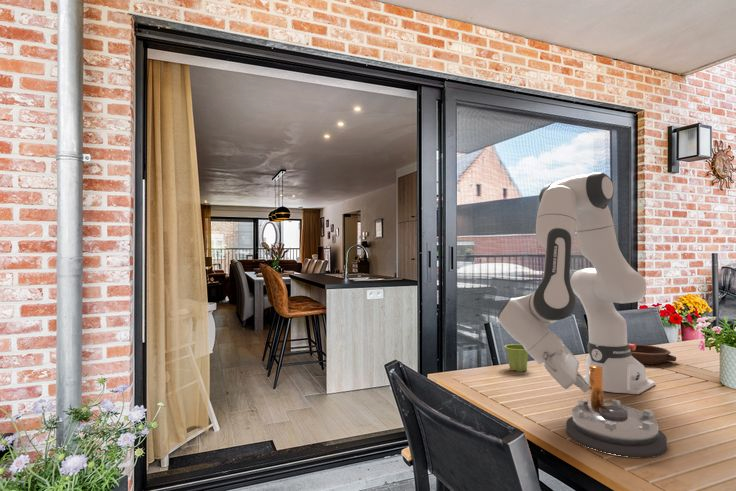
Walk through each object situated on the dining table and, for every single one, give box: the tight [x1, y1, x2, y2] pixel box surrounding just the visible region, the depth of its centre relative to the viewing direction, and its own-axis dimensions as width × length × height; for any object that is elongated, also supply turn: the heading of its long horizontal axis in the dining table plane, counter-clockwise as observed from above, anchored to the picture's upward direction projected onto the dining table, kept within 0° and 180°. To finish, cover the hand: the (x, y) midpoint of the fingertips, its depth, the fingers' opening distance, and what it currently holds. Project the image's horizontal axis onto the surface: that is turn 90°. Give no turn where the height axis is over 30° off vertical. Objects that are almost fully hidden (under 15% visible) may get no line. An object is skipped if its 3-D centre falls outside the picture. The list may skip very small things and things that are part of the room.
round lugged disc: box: [571, 365, 659, 445], centre depth 102 cm, size 18×18×13 cm
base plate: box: [565, 416, 668, 458], centre depth 102 cm, size 21×21×2 cm
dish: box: [631, 344, 677, 365], centre depth 168 cm, size 18×22×5 cm
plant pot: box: [504, 343, 529, 372], centre depth 161 cm, size 9×9×9 cm
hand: (587, 389), depth 111 cm, fingers closed, pressing on round lugged disc
